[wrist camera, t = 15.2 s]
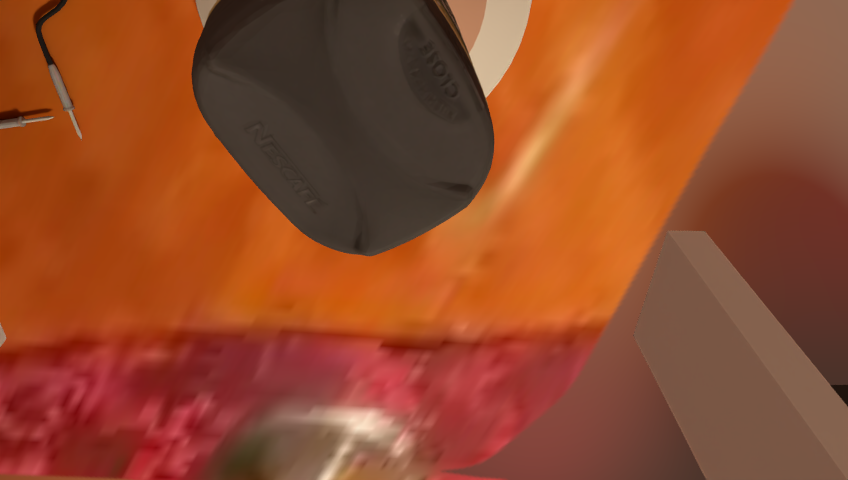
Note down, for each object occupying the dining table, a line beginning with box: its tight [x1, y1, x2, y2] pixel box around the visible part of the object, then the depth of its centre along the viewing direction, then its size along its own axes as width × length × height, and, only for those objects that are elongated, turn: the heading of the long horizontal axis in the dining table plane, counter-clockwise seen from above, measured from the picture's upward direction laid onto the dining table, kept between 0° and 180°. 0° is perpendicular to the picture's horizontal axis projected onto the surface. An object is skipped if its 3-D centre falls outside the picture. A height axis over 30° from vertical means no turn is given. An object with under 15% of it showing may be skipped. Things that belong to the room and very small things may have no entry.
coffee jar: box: [192, 0, 494, 256], centre depth 25 cm, size 10×8×19 cm
